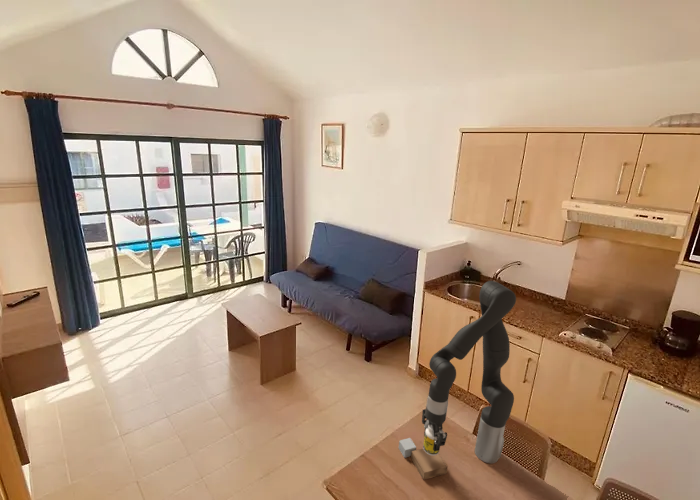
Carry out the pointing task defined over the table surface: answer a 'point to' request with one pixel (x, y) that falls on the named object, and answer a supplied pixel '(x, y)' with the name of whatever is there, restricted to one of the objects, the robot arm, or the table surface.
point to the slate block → (406, 447)
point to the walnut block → (428, 464)
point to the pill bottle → (429, 442)
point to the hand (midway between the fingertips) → (431, 443)
